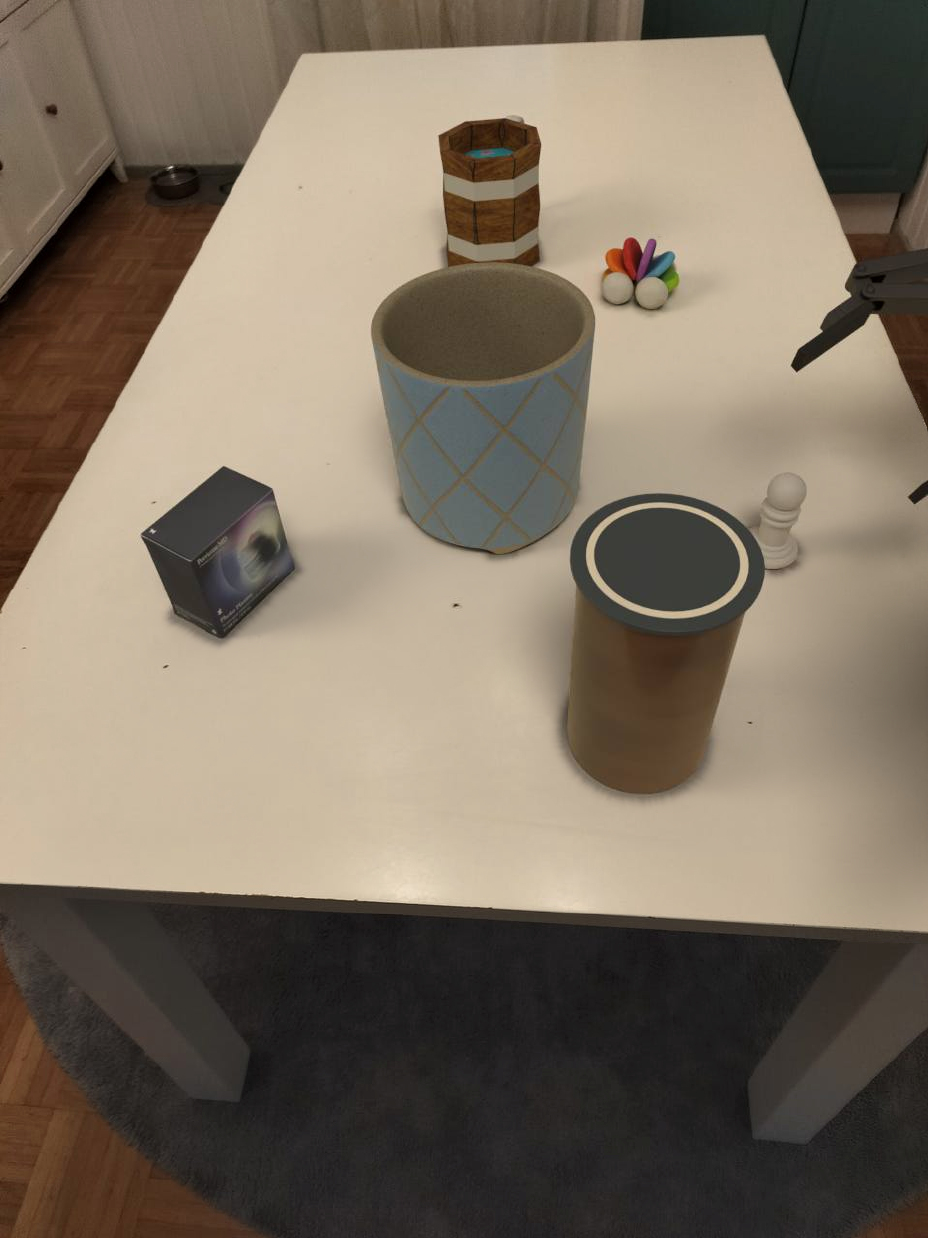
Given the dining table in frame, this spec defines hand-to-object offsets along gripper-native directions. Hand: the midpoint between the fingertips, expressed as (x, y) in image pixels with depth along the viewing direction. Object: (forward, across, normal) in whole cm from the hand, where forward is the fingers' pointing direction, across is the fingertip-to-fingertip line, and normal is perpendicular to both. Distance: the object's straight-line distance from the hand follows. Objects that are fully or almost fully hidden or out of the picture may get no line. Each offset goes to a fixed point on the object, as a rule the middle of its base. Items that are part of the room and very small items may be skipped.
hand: (855, 426), depth 66 cm
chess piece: (+6, -2, -18) cm, 19 cm away
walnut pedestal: (+26, -9, -7) cm, 29 cm away
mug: (-1, +57, -44) cm, 72 cm away
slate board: (+20, -2, +11) cm, 23 cm away
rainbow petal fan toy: (-10, +36, -39) cm, 54 cm away
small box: (+49, +23, -12) cm, 55 cm away
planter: (+23, +19, -20) cm, 36 cm away
